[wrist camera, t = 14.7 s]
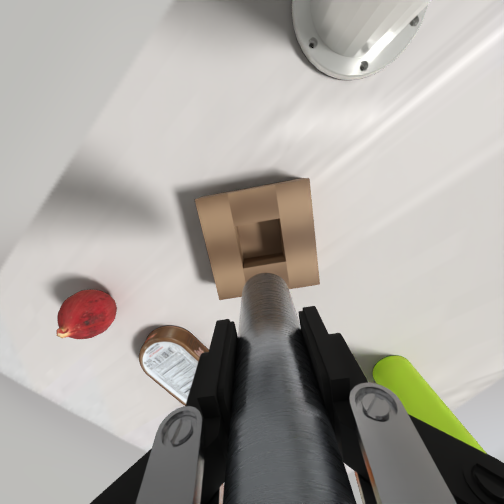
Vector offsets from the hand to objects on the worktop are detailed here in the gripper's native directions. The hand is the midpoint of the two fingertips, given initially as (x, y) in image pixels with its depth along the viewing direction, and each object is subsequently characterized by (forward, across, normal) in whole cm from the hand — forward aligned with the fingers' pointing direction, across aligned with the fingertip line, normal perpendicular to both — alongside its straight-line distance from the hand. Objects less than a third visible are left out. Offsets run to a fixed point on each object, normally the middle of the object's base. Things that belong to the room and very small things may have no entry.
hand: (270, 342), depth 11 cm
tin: (+18, +10, +16) cm, 26 cm away
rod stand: (+20, 0, 0) cm, 20 cm away
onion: (+20, +22, +5) cm, 31 cm away
